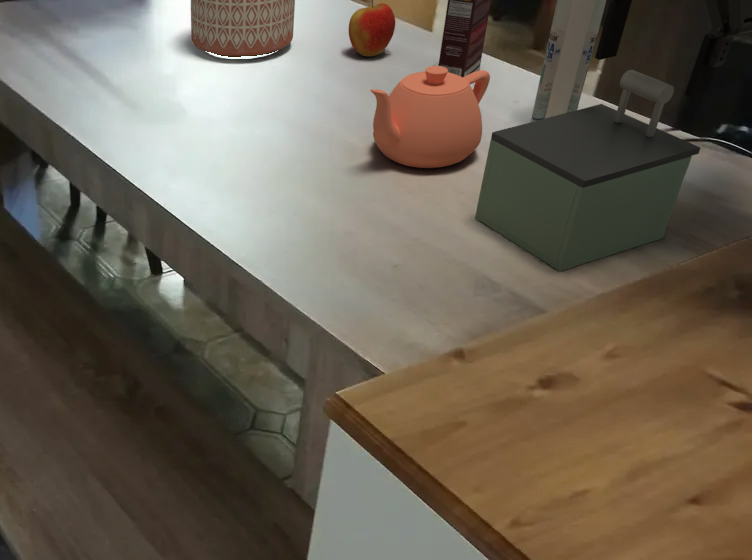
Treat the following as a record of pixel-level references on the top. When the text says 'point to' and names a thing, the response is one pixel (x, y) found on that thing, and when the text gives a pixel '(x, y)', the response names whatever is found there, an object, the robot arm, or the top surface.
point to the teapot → (430, 118)
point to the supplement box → (464, 36)
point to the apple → (371, 29)
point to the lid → (601, 137)
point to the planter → (242, 26)
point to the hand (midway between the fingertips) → (648, 74)
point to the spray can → (567, 57)
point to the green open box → (575, 208)
